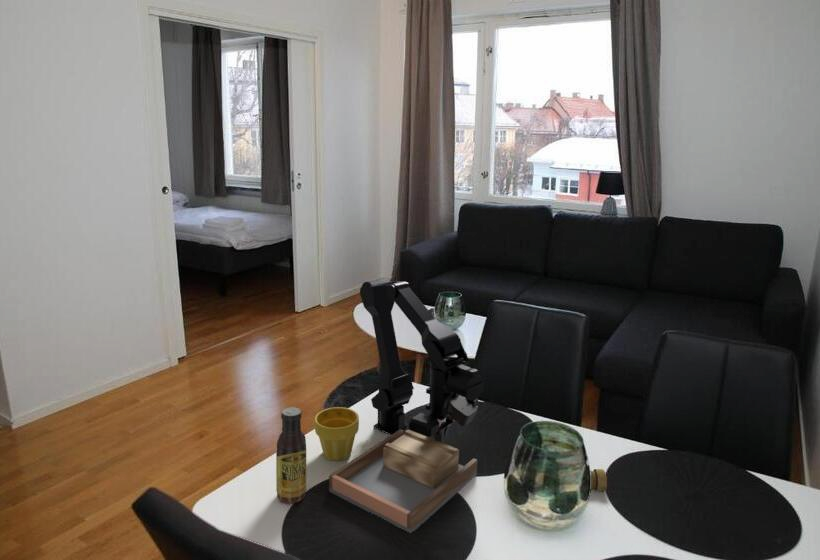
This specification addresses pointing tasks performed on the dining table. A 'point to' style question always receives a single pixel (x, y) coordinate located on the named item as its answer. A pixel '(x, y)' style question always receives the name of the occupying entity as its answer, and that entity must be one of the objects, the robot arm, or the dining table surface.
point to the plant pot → (337, 431)
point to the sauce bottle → (291, 458)
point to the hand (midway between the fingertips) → (440, 444)
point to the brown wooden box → (421, 458)
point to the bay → (395, 488)
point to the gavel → (598, 480)
